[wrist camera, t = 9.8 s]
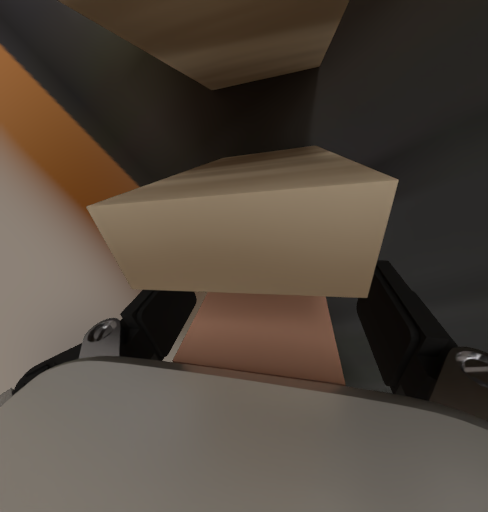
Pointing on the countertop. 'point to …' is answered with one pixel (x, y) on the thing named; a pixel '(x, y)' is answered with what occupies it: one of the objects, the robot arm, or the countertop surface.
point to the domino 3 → (264, 337)
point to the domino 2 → (254, 226)
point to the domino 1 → (223, 34)
